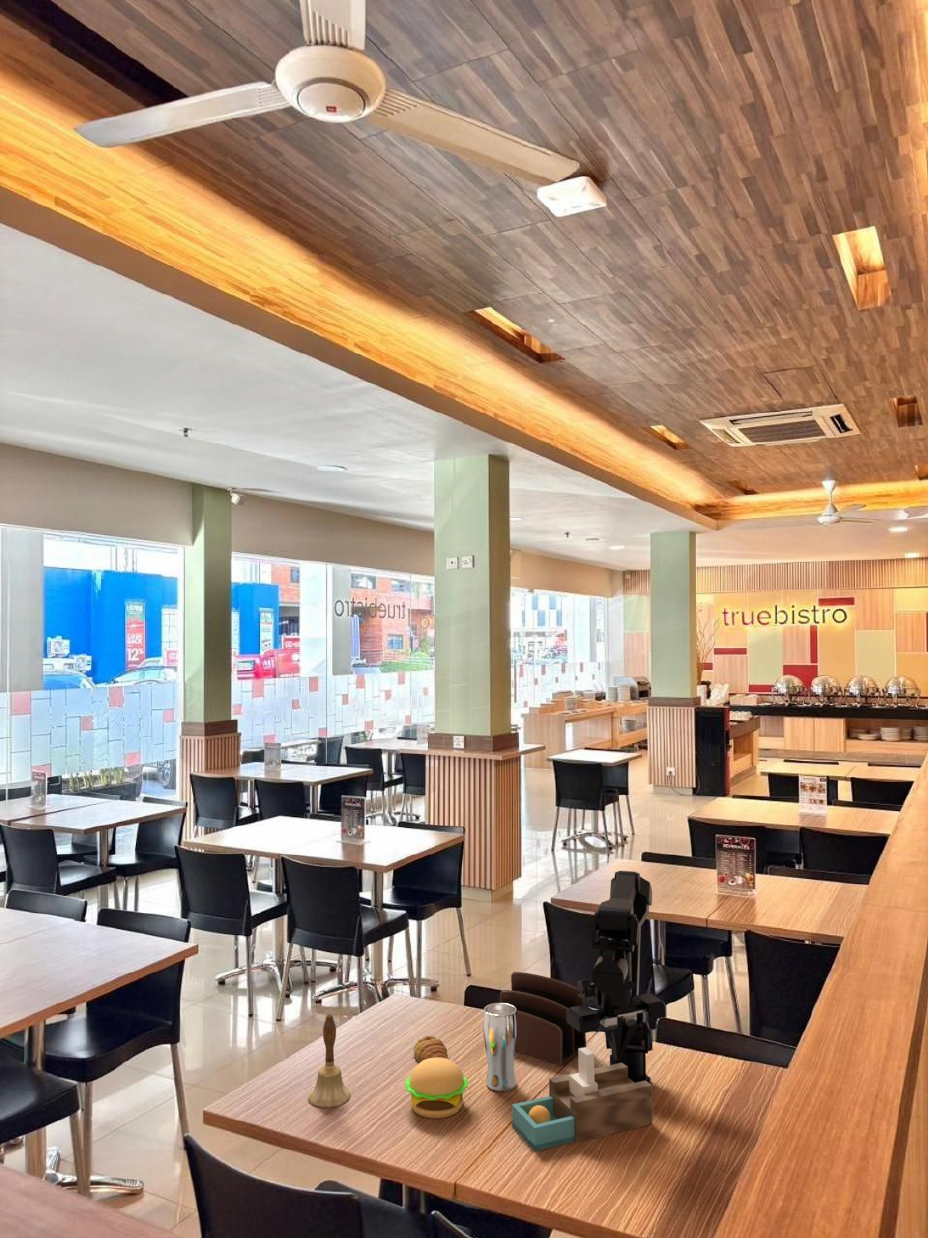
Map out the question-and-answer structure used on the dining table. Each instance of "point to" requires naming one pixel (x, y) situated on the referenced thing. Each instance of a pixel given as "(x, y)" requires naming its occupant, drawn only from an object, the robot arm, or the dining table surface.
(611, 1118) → the launcher deck
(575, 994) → the letter holder
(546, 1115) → the ball
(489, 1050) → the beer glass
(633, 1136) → the dining table surface
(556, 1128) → the teal open box
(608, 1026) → the robot arm
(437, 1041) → the pastry
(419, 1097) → the hamburger
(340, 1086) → the hand bell
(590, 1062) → the white offset block
